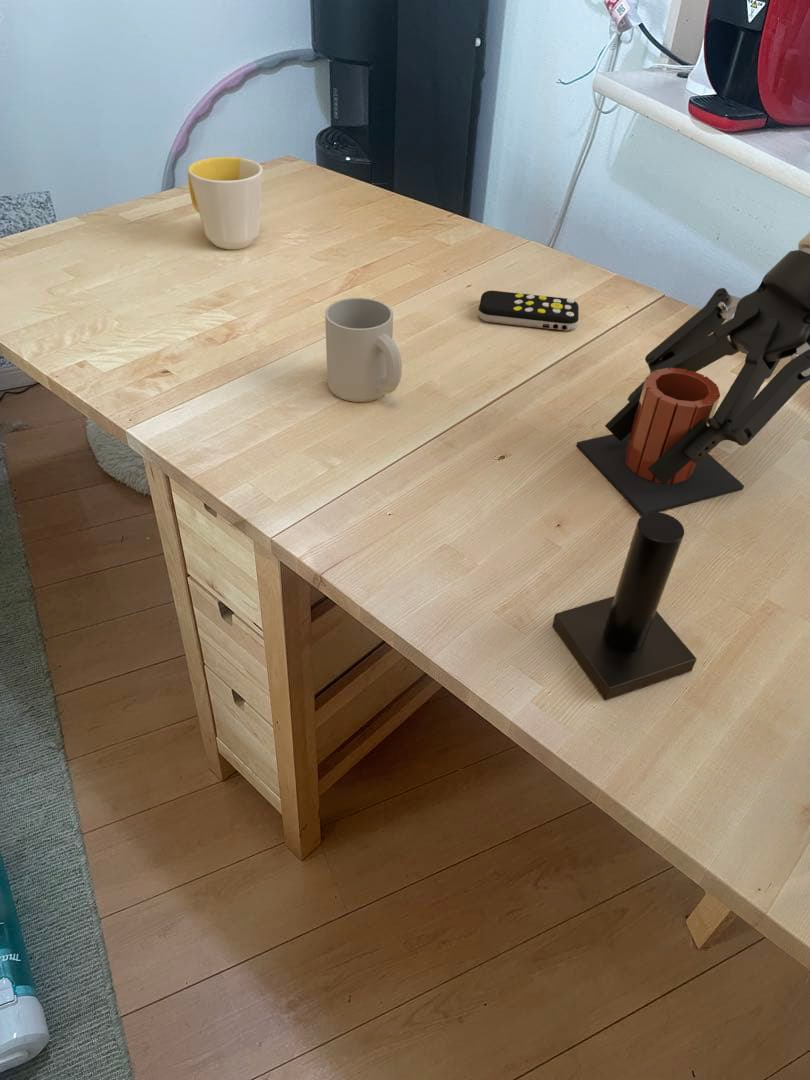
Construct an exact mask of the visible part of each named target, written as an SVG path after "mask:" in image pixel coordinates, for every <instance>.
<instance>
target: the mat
mask: <svg viewBox="0 0 810 1080" xmlns="http://www.w3.org/2000/svg"><path fill="white" fill-rule="evenodd" d="M630 433H631V432H630ZM630 433H629V434H628V435H627V436H626V437H625V438H624V439H623V440H622V441H621V442H620V441H619V440H618V439H617V438H616V437H615V436H614V435H613V434H612V433H611V434H607V435H602V436H598V437H594V438H590V439H585V440H580V441H577V442H576V447H577V449H579V450H580V451H581V452H582V453H583V455H584V456H585V457H586V458H587V459H588V460H589V462H590V463H592V464H593V466H595V467H596V469H597V470H598V471H599V472H600V473H601V474H602V475H603V476H604V477H605V478H606V479H607V481H609V483H610V484H611V485H612V486H613V488H615V489H616V490H617V491H618V492H619V494H621V496H622V497H623V498H624V499H625V500H626V501H627V502H628V503H629V504H630V506H632V507H633V509H634V510H635V511H636V512H637V513H638V514H639V515H640V517H641V516H642V515H644V514H646V513H651V512H659V513H661V512H664V511H667V510H672V509H675V508H678V507H683V506H685V505H690V504H693V503H697V502H701V501H705V500H709V499H713V498H716V497H720V496H722V495H727V494H731V493H735V492H739V491H742V490H744V487H745V485H744V484H743V483H742V482H741V481H739V480H738V479H737V478H736V477H735V476H734V475H733V474H732V473H731V472H730V471H728V470H727V469H726V468H725V467H724V466H723V465H722V464H720V463H719V462H718V461H717V460H716V459H715V458H714V457H713V456H712V455H711V454H709V453H708V454H707V455H706V456H704V457H703V458H702V459H701V460H700V461H698V462H697V463H696V466H695V469H694V472H693V473H692V475H691V476H690V477H689V478H688V479H687V480H685V481H682V482H678V483H674V484H672V483H670V484H664V485H663V484H662V483H654V480H653V481H649V480H647V479H644V478H642V477H640V476H638V474H635V473H634V472H633V471H632V470H631V469H630V468H629V467H628V466H627V464H626V462H625V452H626V448H627V444H628V441H629V437H630Z"/></svg>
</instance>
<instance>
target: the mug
mask: <svg viewBox="0 0 810 1080" xmlns="http://www.w3.org/2000/svg"><path fill="white" fill-rule="evenodd" d="M263 173H264V170H263V166H262V165H261V164H260V163H258V162H257V161H255V160H252V159H250V158H249V159H248V158H245V157H243V158H242V157H238V156H215V157H208V158H203V159H200V160H197V161H195V162H192V163H191V164H190V165H189V166H188V168H187V180H188V189H189V194H190V199H191V204H192V207H193V208H194V210H195V211H196V212H197V213H198V214H199V217H200V220H201V224H202V228H203V232H204V236H205V237H206V238H207V239H208V240H209V241H210V242H211V243H212V244H213V245H214V246H216V247H218V248H220V249H223V250H240V249H246V248H247V247H249V246H251V245H252V243H253V242H254V241H255V240H256V238H257V237H258V235H259V233H260V220H261V205H262V204H261V203H262V191H263V178H264V177H263Z"/></svg>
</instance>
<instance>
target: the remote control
mask: <svg viewBox="0 0 810 1080" xmlns="http://www.w3.org/2000/svg"><path fill="white" fill-rule="evenodd" d="M579 307H580V306H579V304H578V302H577V301H575V299H574V298H566V297H557V296H548V295H547V296H546V295H538V294H528V293H521V292H520V293H519V292H511V291H510V292H509V291H503V290H502V291H501V290H486V291H484V292H483V293H482V294H481V297H480V301H479V305H478V312H477V313H478V317H479V319H481V320H482V321H484V322H487V323H494V324H502V325H510V326H511V325H512V326H520V327H528V328H529V327H530V328H536V329H537V328H538V329H546V330H557V331H565V332H567V331H572V330H574V329H576V327H578V323H579V314H580V313H579V312H580V311H579V310H580V308H579Z"/></svg>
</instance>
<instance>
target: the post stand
mask: <svg viewBox="0 0 810 1080" xmlns="http://www.w3.org/2000/svg"><path fill="white" fill-rule="evenodd" d="M684 537H685V528H684V526H683V524H682V523H681V522H680V520H678V519H677V518H676V517H674V516H673V515H670V514H667V513H665V512H651V513H646V514H644V515H642V516H641V515H640V516H639V518H638V519H637V522H636V525H635V529H634V532H633V535H632V538H631V541H630V545H629V548H628V550H627V555H626V558H625V561H624V564H623V568H622V571H621V574H620V577H619V579H618V580H619V581H618V584H617V587H616V590H615V594H614V595H613V596H610V597H609V596H608V597H606V598H602V599H599V600H595V601H593V602H589V603H585V604H583V605H580V606H576V607H573V608H569V609H566V610H562V611H560V612H556V613H555V614H554V616H553V621H552V627H553V629H554V630H555V632H556V633H557V634H558V636H559V637H560V639H561V640H562V641H563V643H564V645H565V646H566V647H567V648H568V650H569V652H570V653H571V654H572V656H573V658H575V660H576V661H577V663H578V664H579V665H580V667H581V669H582V670H583V671H584V672H585V674H586V675H587V677H588V678H589V681H591V682H592V684H593V686H594V687H595V688H596V690H597V691H598V693H599V694H600V695H601V697H602V698H603V699H604V701H608V700H611V699H614V698H616V697H619V696H622V695H625V694H628V693H631V692H634V691H637V690H640V689H642V688H643V689H644V688H646V687H648V686H651V685H655V684H657V683H661V682H663V681H666V680H669V679H673V678H675V677H678V676H681V675H683V674H687V673H690V672H692V671H693V669H694V667H695V664H696V662H697V660H698V658H697V657H696V656H695V655H694V653H693V652H692V651H691V650H690V649H689V648H688V646H687V645H686V644H685V643H684V642H683V640H682V639H681V638H680V637H679V636H678V635H677V634H676V632H675V631H674V630H673V629H672V627H671V626H670V625H669V624H668V623H667V622H666V620H665V619H664V618H663V617H662V616H661V615H660V613H659V612H658V611H657V610H658V607H659V604H660V602H661V598H662V596H663V593H664V591H665V588H666V585H667V583H668V580H669V577H670V574H671V571H672V569H673V567H674V563H675V560H676V557H677V555H678V553H679V549H680V547H681V544H682V541H683V538H684Z"/></svg>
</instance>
